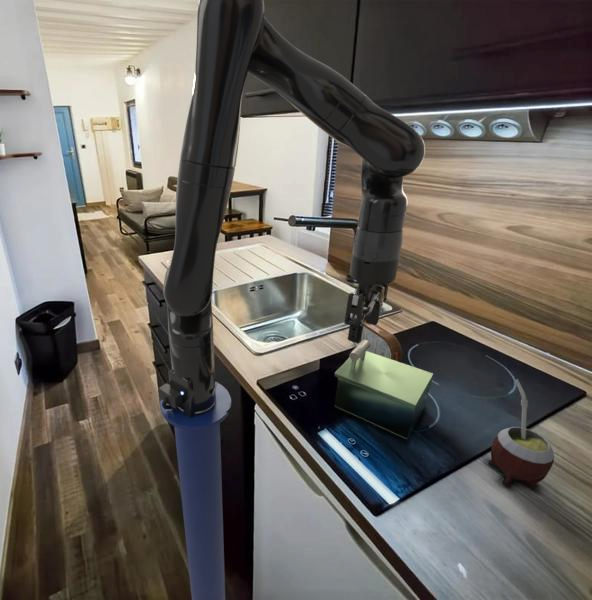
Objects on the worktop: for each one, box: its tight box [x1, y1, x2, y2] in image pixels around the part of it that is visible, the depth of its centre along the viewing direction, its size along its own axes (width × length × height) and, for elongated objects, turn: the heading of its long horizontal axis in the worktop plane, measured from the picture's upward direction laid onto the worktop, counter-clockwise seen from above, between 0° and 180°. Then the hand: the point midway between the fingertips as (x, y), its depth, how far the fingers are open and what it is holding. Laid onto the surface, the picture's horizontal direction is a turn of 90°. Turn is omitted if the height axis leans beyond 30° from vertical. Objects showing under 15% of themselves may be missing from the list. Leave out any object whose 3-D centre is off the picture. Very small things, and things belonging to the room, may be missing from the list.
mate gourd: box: [487, 378, 555, 490], centre depth 56 cm, size 8×8×15 cm
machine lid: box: [333, 340, 435, 409], centre depth 70 cm, size 14×12×5 cm
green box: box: [333, 377, 433, 443], centre depth 73 cm, size 14×12×8 cm
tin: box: [352, 322, 403, 363], centre depth 89 cm, size 15×3×8 cm, turn 17°
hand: (362, 332), depth 71 cm, fingers open, 8 cm apart
